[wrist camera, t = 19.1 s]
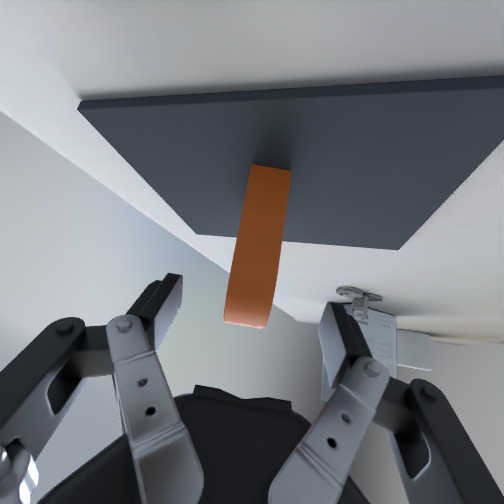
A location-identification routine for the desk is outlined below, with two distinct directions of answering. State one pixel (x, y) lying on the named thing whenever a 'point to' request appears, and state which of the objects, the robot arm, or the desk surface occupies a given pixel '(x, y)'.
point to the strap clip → (358, 300)
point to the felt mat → (312, 152)
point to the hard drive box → (372, 343)
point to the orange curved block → (258, 248)
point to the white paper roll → (414, 350)
